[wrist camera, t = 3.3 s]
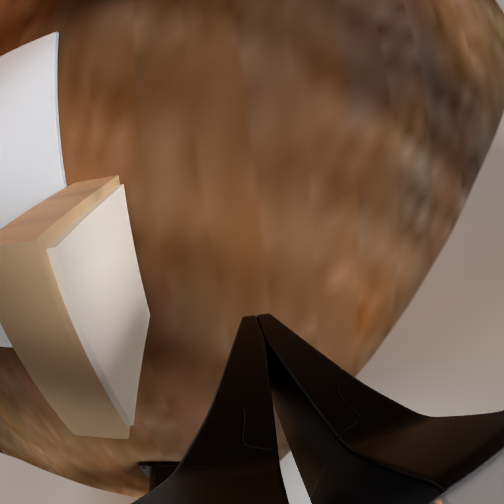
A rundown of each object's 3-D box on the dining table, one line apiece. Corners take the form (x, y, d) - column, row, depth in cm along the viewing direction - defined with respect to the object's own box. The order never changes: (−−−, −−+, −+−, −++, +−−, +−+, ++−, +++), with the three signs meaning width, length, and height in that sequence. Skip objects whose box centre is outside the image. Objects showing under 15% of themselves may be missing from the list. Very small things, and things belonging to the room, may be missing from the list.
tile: (152, 316, 16) (135, 439, 9) (108, 319, 16) (73, 434, 8) (124, 174, 13) (44, 238, 5) (72, 183, 12) (-29, 251, 5)
